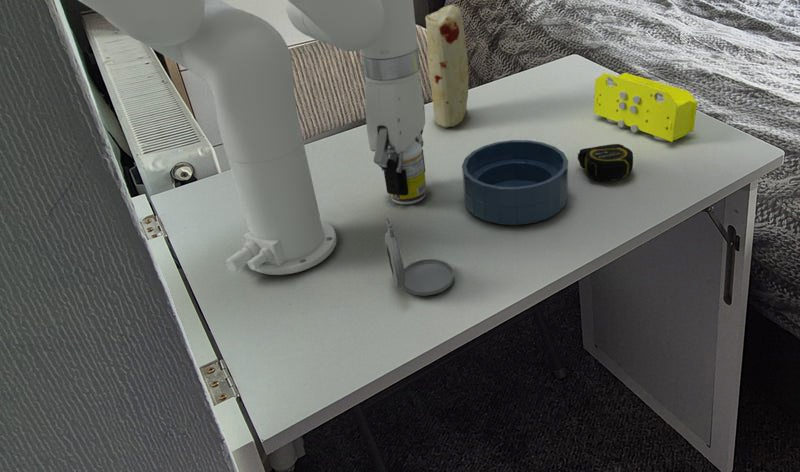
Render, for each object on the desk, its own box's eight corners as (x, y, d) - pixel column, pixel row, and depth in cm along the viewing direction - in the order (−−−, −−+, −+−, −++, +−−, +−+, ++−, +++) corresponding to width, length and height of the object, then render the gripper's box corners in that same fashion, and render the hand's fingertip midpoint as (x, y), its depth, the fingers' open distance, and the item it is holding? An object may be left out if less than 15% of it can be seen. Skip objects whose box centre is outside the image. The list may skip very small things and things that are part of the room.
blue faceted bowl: (541, 237, 84) (541, 197, 81) (447, 214, 92) (443, 177, 88) (582, 186, 94) (583, 148, 90) (493, 169, 101) (491, 134, 98)
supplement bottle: (387, 191, 99) (378, 129, 94) (423, 184, 100) (416, 122, 94) (393, 209, 95) (383, 145, 89) (430, 202, 95) (423, 138, 89)
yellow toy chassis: (591, 118, 112) (593, 71, 107) (615, 108, 114) (618, 62, 109) (669, 147, 100) (675, 96, 95) (694, 135, 102) (701, 85, 98)
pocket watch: (465, 277, 79) (460, 207, 74) (417, 314, 75) (408, 242, 69) (417, 254, 84) (408, 187, 79) (370, 287, 80) (357, 218, 74)
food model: (464, 132, 113) (456, 16, 102) (427, 131, 115) (415, 17, 104) (475, 109, 121) (469, -1, 110) (440, 109, 123) (431, 0, 112)
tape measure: (621, 160, 98) (623, 138, 96) (639, 182, 93) (641, 158, 91) (576, 167, 98) (577, 145, 96) (591, 189, 93) (593, 165, 91)
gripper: (392, 41, 94) (406, 154, 104) (335, 86, 81) (358, 210, 91) (440, 42, 91) (450, 158, 101) (389, 89, 78) (407, 216, 88)
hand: (406, 181), depth 96 cm, fingers closed on supplement bottle, 5 cm apart
